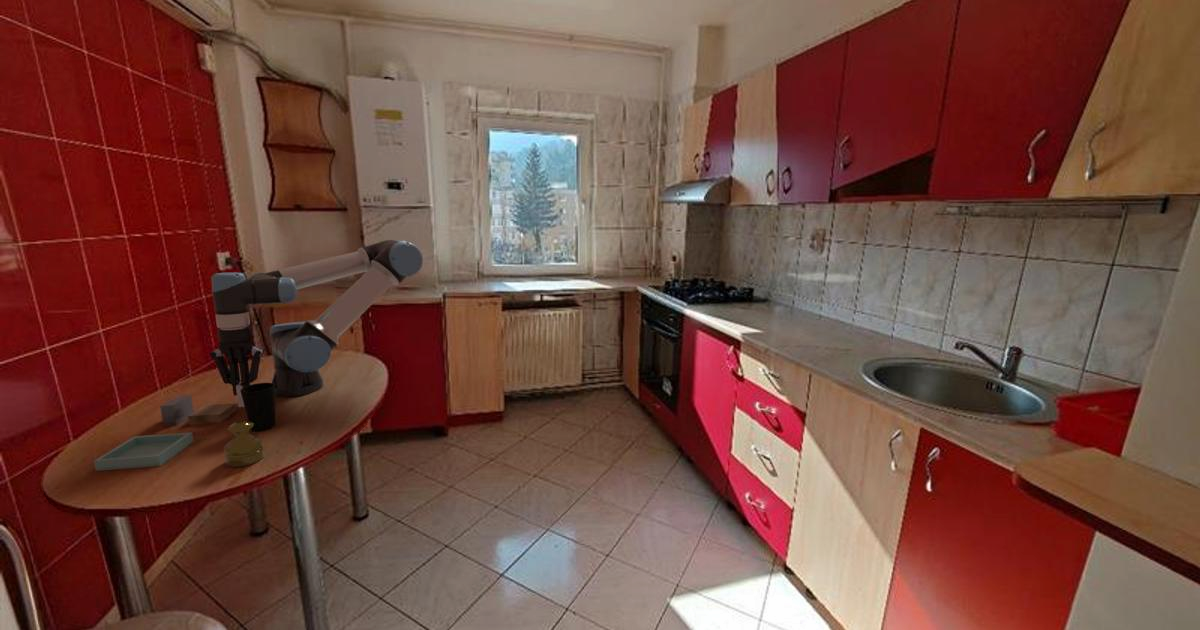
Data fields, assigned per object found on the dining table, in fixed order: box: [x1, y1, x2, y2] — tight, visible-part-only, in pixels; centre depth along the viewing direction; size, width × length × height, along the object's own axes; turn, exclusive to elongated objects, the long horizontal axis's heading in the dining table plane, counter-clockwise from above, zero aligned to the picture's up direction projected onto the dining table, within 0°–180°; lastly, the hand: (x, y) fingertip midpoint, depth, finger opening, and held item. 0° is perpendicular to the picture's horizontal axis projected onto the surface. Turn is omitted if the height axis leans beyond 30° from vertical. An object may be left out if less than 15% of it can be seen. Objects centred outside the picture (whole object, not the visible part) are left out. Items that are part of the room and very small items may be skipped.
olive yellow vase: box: [223, 419, 265, 468], centre depth 112 cm, size 7×7×10 cm
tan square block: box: [187, 403, 237, 426], centre depth 135 cm, size 8×8×3 cm
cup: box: [240, 382, 276, 433], centre depth 129 cm, size 8×8×12 cm
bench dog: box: [160, 394, 195, 427], centre depth 133 cm, size 3×8×6 cm, turn 13°
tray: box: [93, 432, 194, 472], centre depth 114 cm, size 13×13×2 cm
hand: (243, 405), depth 136 cm, fingers closed
